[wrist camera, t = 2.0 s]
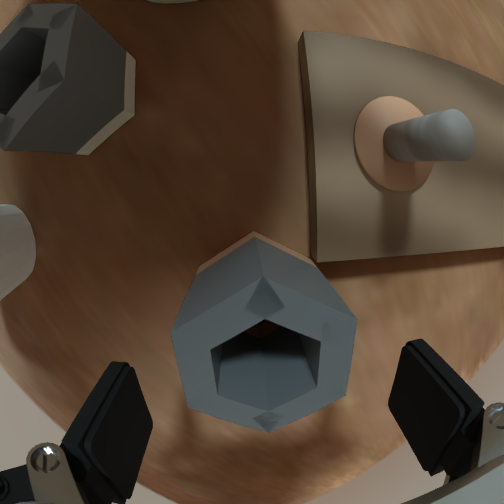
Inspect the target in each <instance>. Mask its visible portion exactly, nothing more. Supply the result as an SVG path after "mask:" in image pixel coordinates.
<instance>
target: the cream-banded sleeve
mask: <svg viewBox="0 0 504 504" xmlns="http://www.w3.org/2000/svg"><path fill="white" fill-rule="evenodd" d="M135 68H136V60H135V59H134V58H133V57H132V56H131V55H130V54H129V53H128V52H127V51H126V50H125V49H124V48H123V47H122V46H121V45H120V44H119V43H118V42H117V41H116V40H115V39H114V38H113V37H112V36H111V35H110V34H109V33H108V32H107V31H106V30H105V29H104V28H103V27H102V26H101V25H100V24H99V23H98V22H97V21H96V20H95V19H94V18H93V17H92V16H91V15H89V14H88V13H87V12H86V11H85V10H84V9H83V8H82V7H81V6H80V5H79V4H69V3H41V4H28V5H27V6H26V7H25V8H24V9H23V10H22V11H21V12H20V13H19V14H18V15H17V17H16V18H15V19H14V20H13V21H12V22H11V23H10V24H9V25H8V26H7V27H6V28H5V30H4V31H3V32H2V33H1V34H0V148H1V149H2V150H4V151H28V152H51V153H67V154H80V155H89V154H90V153H91V152H92V151H94V150H95V149H96V148H97V147H98V146H99V145H100V144H101V143H102V142H103V141H105V140H106V139H107V138H108V137H109V136H110V135H111V134H113V133H114V132H115V131H116V130H117V129H118V128H120V127H121V126H122V125H123V124H124V123H126V122H127V121H128V120H129V119H131V118H132V117H133V116H135Z"/></svg>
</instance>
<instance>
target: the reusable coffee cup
mask: <svg viewBox="0 0 504 504" xmlns="http://www.w3.org/2000/svg"><path fill="white" fill-rule="evenodd" d="M147 1H151V2H155V3H166V4H167V3H184V2H192V1H197V0H147Z"/></svg>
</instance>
